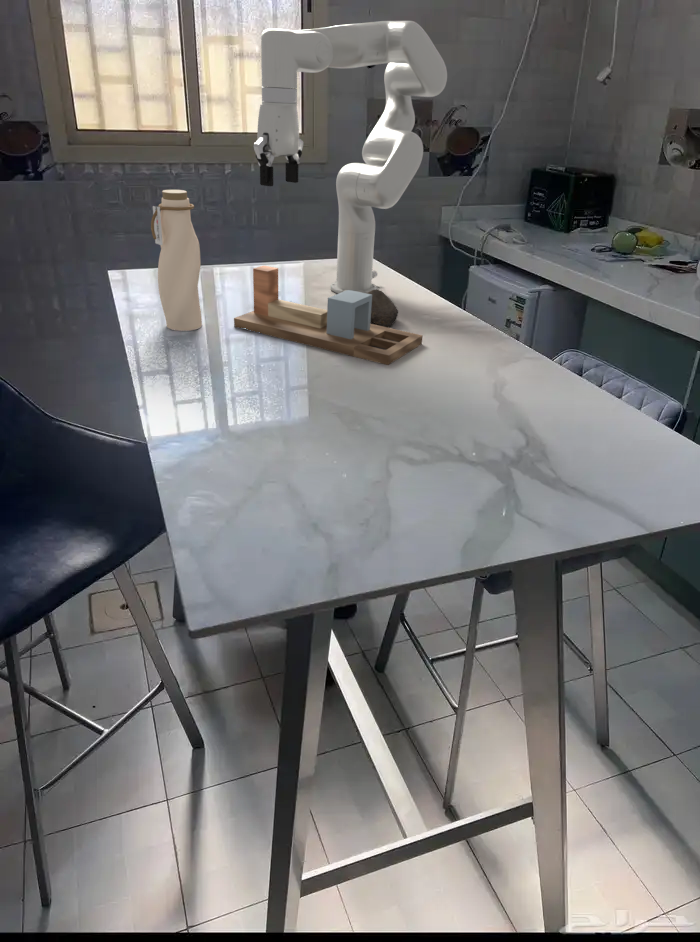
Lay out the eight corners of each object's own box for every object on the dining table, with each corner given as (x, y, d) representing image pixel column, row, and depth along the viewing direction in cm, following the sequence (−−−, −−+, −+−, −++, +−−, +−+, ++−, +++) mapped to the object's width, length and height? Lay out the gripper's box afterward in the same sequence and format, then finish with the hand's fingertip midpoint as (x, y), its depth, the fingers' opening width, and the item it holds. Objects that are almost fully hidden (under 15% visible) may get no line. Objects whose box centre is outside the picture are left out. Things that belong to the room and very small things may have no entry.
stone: (399, 338, 164) (393, 301, 167) (402, 321, 156) (395, 282, 159) (359, 343, 164) (353, 306, 167) (359, 326, 156) (353, 287, 159)
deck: (275, 310, 166) (275, 302, 165) (421, 344, 150) (422, 335, 149) (234, 326, 154) (233, 318, 153) (388, 365, 137) (388, 355, 136)
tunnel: (346, 324, 153) (348, 289, 149) (369, 329, 150) (372, 294, 146) (326, 333, 146) (327, 297, 143) (350, 339, 144) (352, 303, 140)
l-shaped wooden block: (264, 308, 160) (263, 265, 155) (329, 323, 152) (331, 278, 147) (253, 312, 157) (253, 268, 152) (320, 328, 149) (321, 282, 144)
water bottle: (177, 336, 146) (166, 196, 132) (150, 326, 151) (137, 190, 137) (213, 326, 153) (206, 192, 140) (186, 317, 158) (177, 187, 144)
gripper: (288, 97, 154) (287, 179, 163) (240, 96, 141) (242, 185, 150) (316, 99, 151) (314, 182, 160) (269, 98, 138) (270, 189, 146)
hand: (279, 183), depth 155 cm, fingers open, 9 cm apart
